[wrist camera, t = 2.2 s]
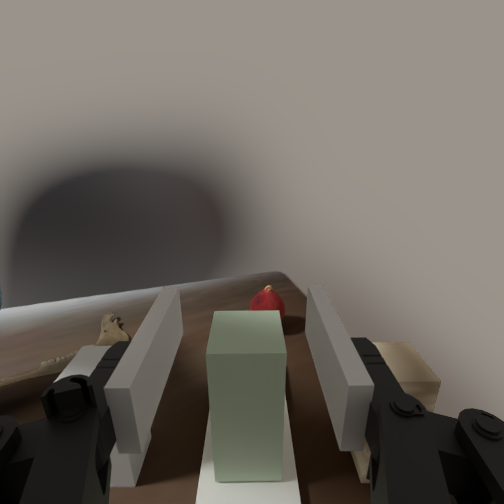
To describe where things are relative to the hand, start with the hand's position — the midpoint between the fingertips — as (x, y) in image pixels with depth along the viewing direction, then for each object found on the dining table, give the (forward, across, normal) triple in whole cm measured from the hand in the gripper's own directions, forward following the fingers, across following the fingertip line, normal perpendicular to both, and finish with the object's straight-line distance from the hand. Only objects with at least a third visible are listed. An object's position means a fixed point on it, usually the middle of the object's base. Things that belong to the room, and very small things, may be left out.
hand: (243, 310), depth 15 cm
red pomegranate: (+31, +3, -22) cm, 38 cm away
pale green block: (+8, 0, -21) cm, 22 cm away
